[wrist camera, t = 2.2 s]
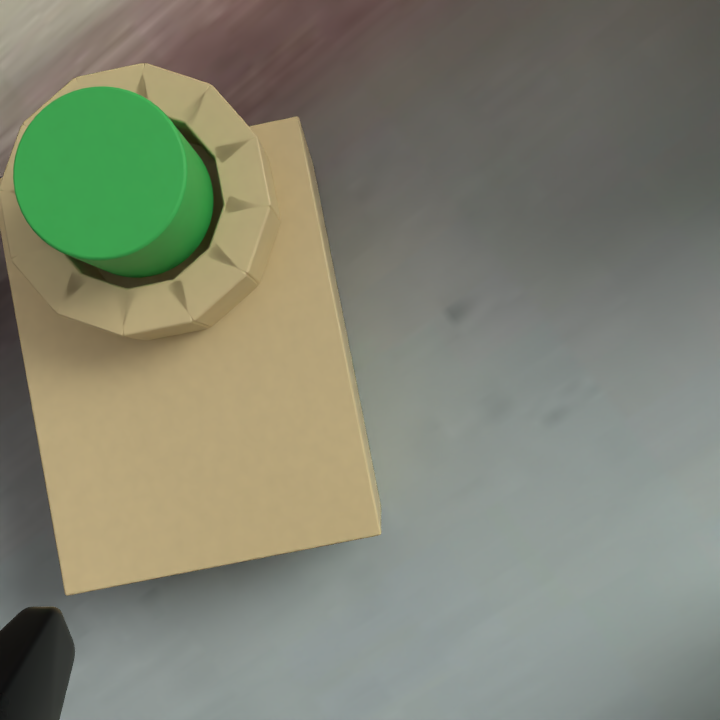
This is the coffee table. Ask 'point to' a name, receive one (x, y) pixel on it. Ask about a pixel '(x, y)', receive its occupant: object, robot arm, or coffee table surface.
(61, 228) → the light button
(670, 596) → the coffee table surface
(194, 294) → the switch box
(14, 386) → the coffee table surface
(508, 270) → the coffee table surface
